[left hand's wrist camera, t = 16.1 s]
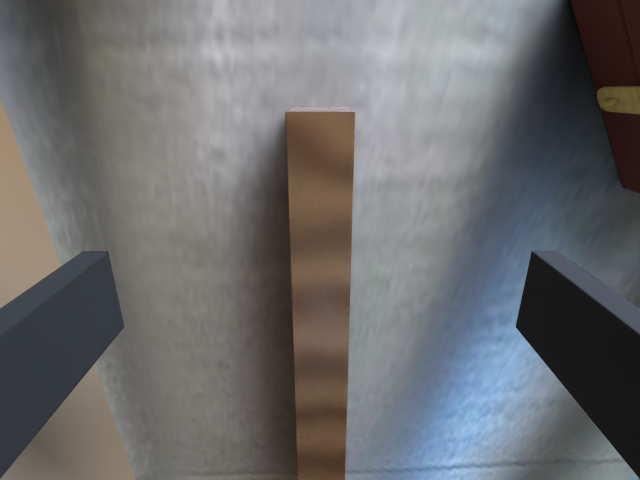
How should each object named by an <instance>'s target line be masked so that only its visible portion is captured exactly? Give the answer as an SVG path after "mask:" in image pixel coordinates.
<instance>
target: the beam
mask: <svg viewBox="0 0 640 480" xmlns="http://www.w3.org/2000/svg"><path fill="white" fill-rule="evenodd" d="M354 137H355V111H354V110H352V109H351V108H350V107H291V108H290V109H289V110H287V111H286V139H287V169H288V199H289V229H290V259H291V289H292V319H293V349H294V379H295V409H296V439H297V469H298V480H345V459H346V423H347V387H348V351H349V315H350V280H351V244H352V208H353V172H354Z"/></svg>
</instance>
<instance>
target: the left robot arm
mask: <svg viewBox="0 0 640 480" xmlns="http://www.w3.org/2000/svg"><path fill="white" fill-rule="evenodd" d="M123 328H124V323H123V319H122V314H121V309H120V305H119V300H118V295H117V290H116V286H115V281H114V276H113V272H112V267H111V262H110V257H109V253H108V251H83V252H81V253H80V254H79V255H77V256H76V257H74V258H73V259H71V260H70V261H68V262H67V263H66V264H64V265H63V266H61V267H60V268H58V269H57V270H56V271H54V272H53V273H51V274H50V275H48V276H47V277H45V278H44V279H42V280H41V281H40V282H38V283H37V284H35V285H34V286H32V287H31V288H30V289H28V290H27V291H25V292H24V293H22V294H21V295H19V296H18V297H16V298H15V299H14V300H12V301H11V302H9V303H8V304H6V305H5V306H4V307H2V308H1V309H0V478H1V477H2V476H3V475H4V473H5V472H6V471H7V470H8V469H9V467H10V466H11V465H12V464H13V462H14V461H15V460H16V459H17V458H18V456H19V455H20V454H21V453H22V451H23V450H24V449H25V448H26V447H27V445H28V444H29V443H30V442H31V440H32V439H33V438H34V437H35V436H36V434H37V433H38V432H39V431H40V429H41V428H42V427H43V426H44V425H45V423H46V422H47V421H48V420H49V418H50V417H51V416H52V415H53V413H54V412H55V411H56V410H57V409H58V407H59V406H60V405H61V404H62V402H63V401H64V400H65V399H66V398H67V396H68V395H69V394H70V393H71V391H72V390H73V389H74V388H75V387H76V385H77V384H78V383H79V382H80V380H81V379H82V378H83V377H84V376H85V374H86V373H87V372H88V371H89V369H90V368H91V367H92V366H93V365H94V363H95V362H96V361H97V360H98V358H99V357H100V356H101V355H102V354H103V352H104V351H105V350H106V349H107V347H108V346H109V345H110V344H111V343H112V341H113V340H114V339H115V338H116V336H117V335H118V334H119V333H120V332H121V330H122V329H123ZM516 328H517V329H518V330H519V332H520V333H521V334H522V335H523V336H524V338H525V339H526V340H527V341H528V343H529V344H530V345H531V346H532V347H533V349H534V350H535V351H536V352H537V354H538V355H539V356H540V357H541V358H542V360H543V361H544V362H545V363H546V365H547V366H548V367H549V368H550V369H551V371H552V372H553V373H554V374H555V376H556V377H557V378H558V379H559V380H560V382H561V383H562V384H563V385H564V387H565V388H566V389H567V390H568V391H569V393H570V394H571V395H572V396H573V398H574V399H575V400H576V401H577V403H578V404H579V405H580V406H581V407H582V409H583V410H584V411H585V412H586V414H587V415H588V416H589V417H590V418H591V420H592V421H593V422H594V423H595V425H596V426H597V427H598V428H599V429H600V431H601V432H602V433H603V434H604V436H605V437H606V438H607V439H608V440H609V442H610V443H611V444H612V445H613V447H614V448H615V449H616V450H617V451H618V453H619V454H620V455H621V456H622V458H623V459H624V460H625V461H626V462H627V464H628V465H629V466H630V467H631V469H632V470H633V471H634V472H635V473H636V475H637V476H638V477H639V478H640V309H639V308H638V307H637V306H635V305H634V304H632V303H631V302H629V301H628V300H626V299H625V298H624V297H622V296H621V295H619V294H618V293H616V292H615V291H613V290H612V289H611V288H609V287H608V286H606V285H605V284H603V283H602V282H600V281H599V280H598V279H596V278H595V277H593V276H592V275H590V274H589V273H587V272H586V271H585V270H583V269H582V268H580V267H579V266H577V265H576V264H574V263H573V262H572V261H570V260H569V259H567V258H566V257H564V256H563V255H561V254H560V253H559V252H557V251H532V253H531V257H530V262H529V267H528V272H527V276H526V281H525V286H524V290H523V295H522V300H521V305H520V309H519V314H518V319H517V323H516Z"/></svg>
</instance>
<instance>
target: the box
mask: <svg viewBox="0 0 640 480" xmlns="http://www.w3.org/2000/svg"><path fill="white" fill-rule="evenodd" d="M571 3H572V7H573V11H574V14H575V18H576V21H577V25H578V29H579V32H580V36H581V39H582V43H583V47H584V50H585V54H586V57H587V61H588V65H589V68H590V72H591V75H592V79H593V82H594V86H595V90H596V93H597V100H598V102H599V104H600V108H601V111H602V115H603V118H604V122H605V126H606V129H607V133H608V136H609V140H610V144H611V147H612V151H613V154H614V158H615V161H616V165H617V169H618V172H619V176H620V179H621V183H622V186H623V188H626V189H629V190H632V191H635V192H638V193H640V0H571Z"/></svg>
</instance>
